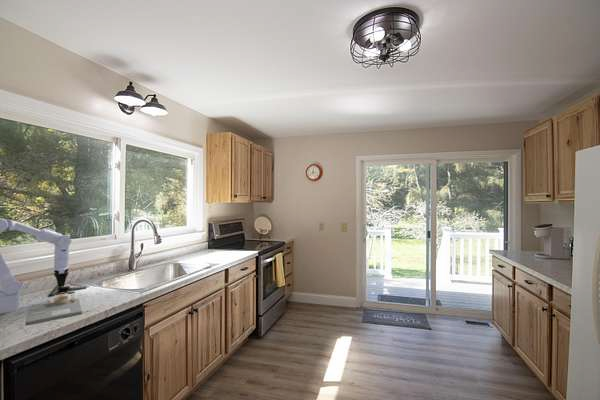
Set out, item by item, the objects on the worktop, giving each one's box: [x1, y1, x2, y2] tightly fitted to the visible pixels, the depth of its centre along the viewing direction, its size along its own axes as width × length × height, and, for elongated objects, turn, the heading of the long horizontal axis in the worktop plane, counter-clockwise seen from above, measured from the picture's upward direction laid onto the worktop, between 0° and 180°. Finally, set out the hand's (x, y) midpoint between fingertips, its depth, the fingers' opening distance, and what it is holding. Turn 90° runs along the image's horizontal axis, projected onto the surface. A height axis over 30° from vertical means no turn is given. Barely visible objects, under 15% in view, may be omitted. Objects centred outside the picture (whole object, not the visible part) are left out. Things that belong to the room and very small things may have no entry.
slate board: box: [25, 296, 83, 327], centre depth 127 cm, size 18×23×3 cm
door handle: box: [47, 284, 88, 298], centre depth 155 cm, size 3×20×16 cm
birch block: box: [53, 292, 69, 305], centre depth 135 cm, size 5×5×4 cm
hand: (61, 284), depth 141 cm, fingers open, 7 cm apart
